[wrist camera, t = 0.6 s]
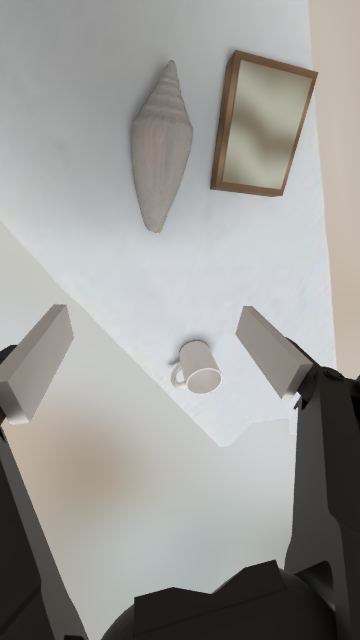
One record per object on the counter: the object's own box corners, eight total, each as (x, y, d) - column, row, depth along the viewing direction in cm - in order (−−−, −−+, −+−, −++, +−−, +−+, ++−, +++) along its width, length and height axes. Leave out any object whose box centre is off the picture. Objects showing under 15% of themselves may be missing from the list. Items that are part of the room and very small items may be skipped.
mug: (176, 374, 54) (182, 407, 45) (160, 356, 49) (164, 388, 41) (213, 354, 52) (227, 384, 43) (201, 334, 48) (213, 362, 39)
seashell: (161, 175, 37) (188, 60, 23) (188, 226, 36) (231, 140, 22) (119, 181, 34) (119, 52, 20) (146, 237, 33) (167, 145, 19)
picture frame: (226, 65, 26) (236, 48, 23) (302, 84, 28) (320, 70, 25) (210, 189, 33) (216, 187, 30) (272, 196, 35) (283, 195, 32)
